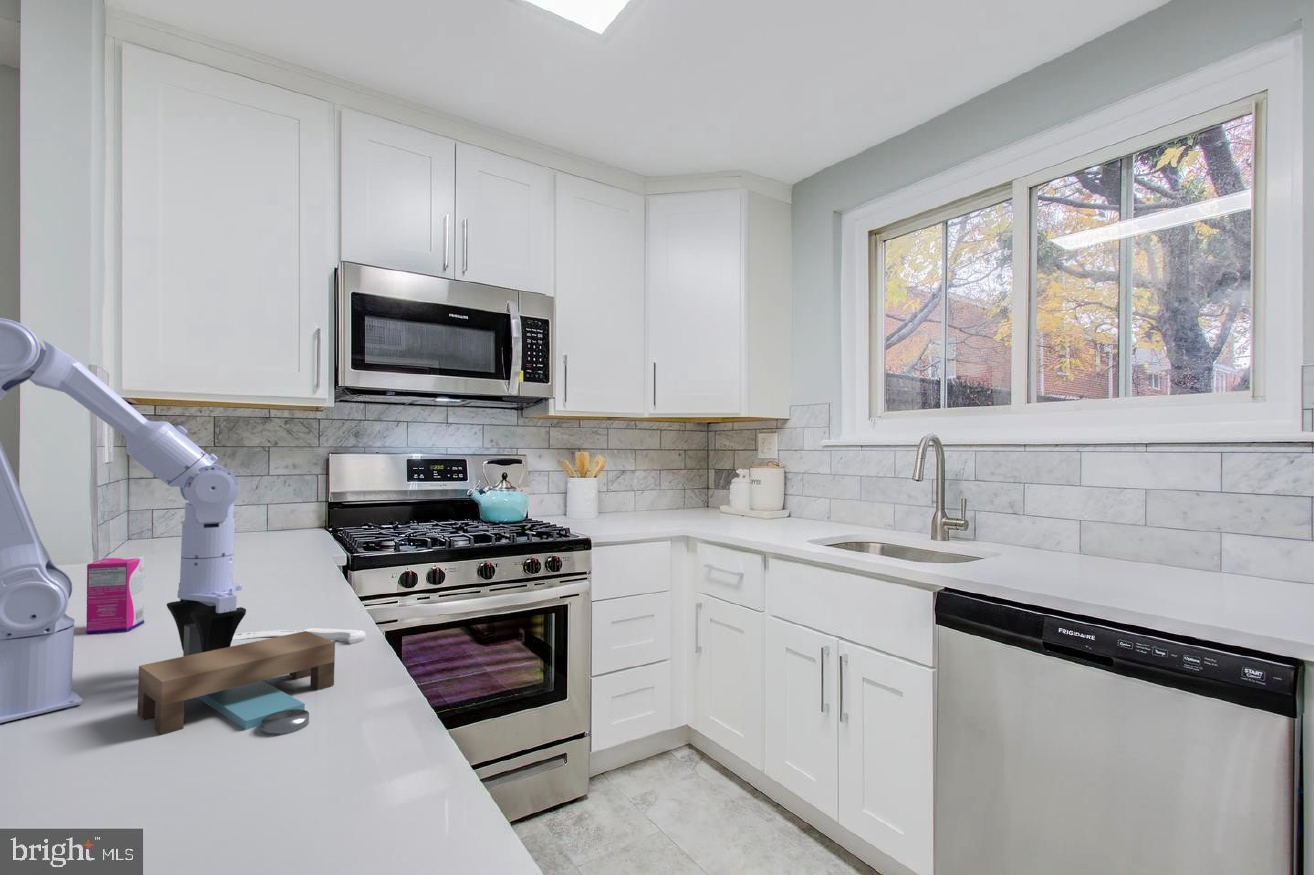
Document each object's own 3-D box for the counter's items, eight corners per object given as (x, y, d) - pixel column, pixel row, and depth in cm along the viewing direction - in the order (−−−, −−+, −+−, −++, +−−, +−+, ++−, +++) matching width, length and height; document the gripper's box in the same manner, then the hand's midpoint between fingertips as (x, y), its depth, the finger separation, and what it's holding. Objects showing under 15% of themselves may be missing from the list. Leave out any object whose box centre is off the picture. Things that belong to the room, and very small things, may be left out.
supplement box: (103, 625, 105) (105, 557, 106) (145, 622, 107) (147, 555, 107) (83, 634, 100) (86, 563, 100) (128, 632, 101) (130, 561, 102)
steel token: (281, 741, 65) (281, 729, 65) (250, 733, 67) (251, 722, 67) (318, 723, 69) (318, 713, 69) (288, 717, 71) (289, 706, 71)
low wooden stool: (160, 734, 65) (162, 682, 66) (137, 714, 70) (138, 665, 70) (333, 685, 80) (335, 642, 80) (304, 671, 85) (306, 630, 85)
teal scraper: (245, 730, 67) (248, 664, 67) (173, 681, 81) (175, 626, 81) (304, 712, 72) (306, 651, 72) (226, 668, 85) (228, 617, 86)
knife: (167, 636, 98) (211, 622, 106) (167, 647, 98) (212, 632, 106) (333, 644, 92) (367, 629, 100) (333, 655, 92) (367, 639, 100)
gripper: (264, 557, 82) (260, 662, 81) (221, 546, 90) (218, 640, 90) (200, 564, 76) (196, 677, 76) (161, 552, 85) (157, 652, 84)
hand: (204, 658), depth 82 cm, fingers open, 7 cm apart
